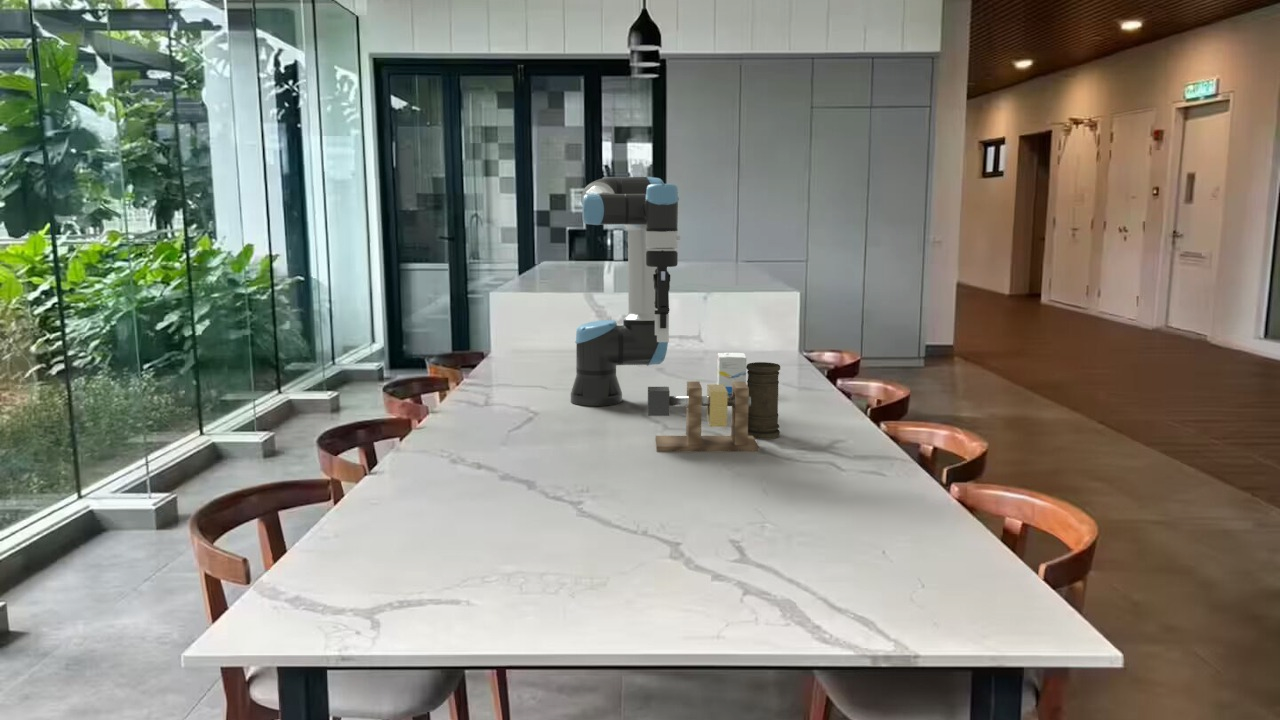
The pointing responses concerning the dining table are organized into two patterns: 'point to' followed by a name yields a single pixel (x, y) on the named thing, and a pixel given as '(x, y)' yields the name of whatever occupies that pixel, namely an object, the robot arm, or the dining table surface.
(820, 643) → the dining table surface
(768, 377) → the container
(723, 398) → the spacer
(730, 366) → the ink box
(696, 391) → the bearing rig
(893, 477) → the dining table surface
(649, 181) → the robot arm
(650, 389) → the shaft
